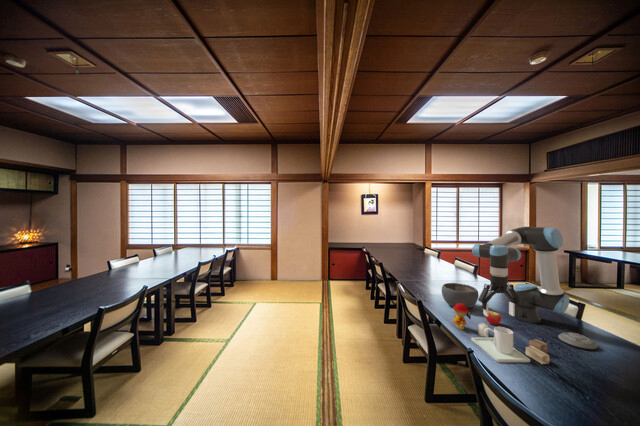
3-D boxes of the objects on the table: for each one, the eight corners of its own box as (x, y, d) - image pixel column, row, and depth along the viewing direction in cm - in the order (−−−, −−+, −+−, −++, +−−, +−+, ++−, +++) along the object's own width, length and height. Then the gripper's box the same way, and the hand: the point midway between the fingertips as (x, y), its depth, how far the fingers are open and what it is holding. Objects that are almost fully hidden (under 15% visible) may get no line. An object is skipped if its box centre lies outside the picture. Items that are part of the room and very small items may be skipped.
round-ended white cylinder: (484, 332, 144) (484, 322, 144) (490, 337, 139) (490, 326, 139) (476, 332, 144) (476, 322, 144) (481, 337, 139) (481, 326, 139)
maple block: (532, 354, 123) (532, 346, 123) (549, 363, 115) (549, 355, 115) (525, 354, 123) (525, 346, 123) (542, 364, 115) (542, 356, 115)
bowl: (478, 304, 189) (478, 285, 189) (478, 315, 168) (478, 294, 168) (443, 298, 202) (443, 280, 202) (439, 308, 181) (440, 288, 181)
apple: (482, 320, 161) (482, 305, 161) (497, 321, 159) (497, 306, 159) (488, 326, 153) (488, 310, 153) (503, 327, 151) (504, 311, 151)
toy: (472, 332, 144) (472, 307, 144) (456, 331, 146) (456, 306, 146) (465, 324, 155) (465, 301, 155) (450, 322, 157) (450, 299, 157)
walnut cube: (536, 348, 128) (536, 339, 128) (547, 353, 123) (547, 344, 123) (529, 349, 127) (529, 340, 127) (540, 355, 122) (540, 345, 122)
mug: (511, 348, 126) (511, 328, 126) (514, 356, 120) (514, 335, 120) (483, 342, 132) (483, 323, 132) (485, 349, 126) (485, 329, 126)
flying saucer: (591, 354, 123) (592, 344, 123) (553, 340, 136) (553, 331, 136) (602, 347, 130) (602, 336, 130) (564, 334, 143) (564, 325, 143)
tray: (499, 340, 136) (499, 337, 136) (530, 362, 116) (530, 359, 116) (471, 340, 136) (471, 337, 136) (497, 362, 116) (497, 359, 116)
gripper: (516, 272, 129) (516, 312, 130) (470, 273, 129) (470, 312, 130) (528, 276, 122) (528, 318, 122) (479, 277, 122) (479, 318, 122)
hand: (498, 315), depth 126 cm, fingers open, 13 cm apart
